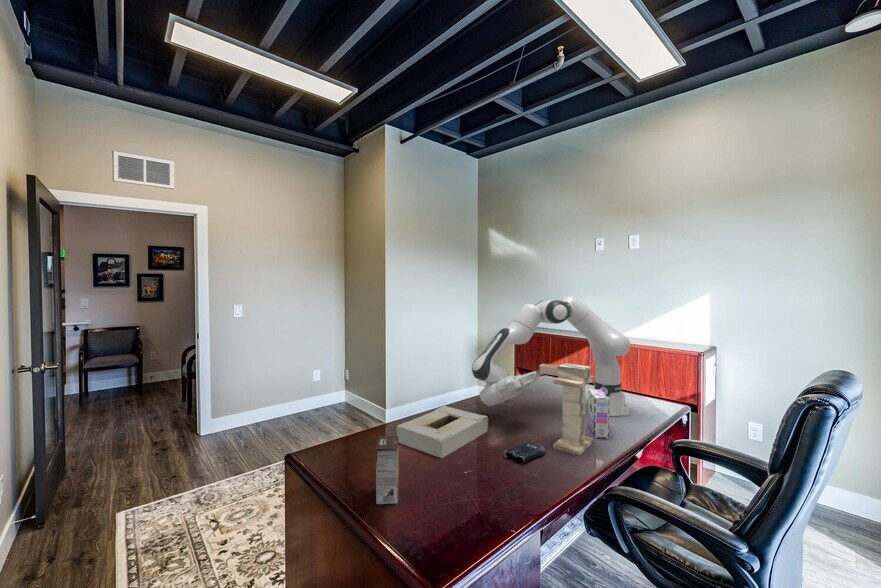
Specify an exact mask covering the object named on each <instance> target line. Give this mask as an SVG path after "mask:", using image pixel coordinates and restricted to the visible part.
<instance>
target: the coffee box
mask: <svg viewBox="0 0 881 588" xmlns="http://www.w3.org/2000/svg"><path fill="white" fill-rule="evenodd" d="M375 445H376V447H375V472H376V473H375V478H376V479H375V482H376V483H375V485H376V487H375V495H376V496H375V497H376V499H375V501H376V503H375V504H376V505H386V504H388V505H390V504H399V491H400V490H399V487H400V484H399V482H400V481H399V480H400V479H399V478H400V477H399V475H400V474H399V472H400V471H399V468H400V466H399V465H400V464H399V463H400V461H399V460H400V459H399V458H400V457H399V454H400V453H399V443H398V436H397V435H379V436H377V439H376V444H375Z"/></svg>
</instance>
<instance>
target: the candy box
mask: <svg viewBox="0 0 881 588" xmlns="http://www.w3.org/2000/svg"><path fill="white" fill-rule="evenodd" d="M587 392H588V393H587V394H588V397H587V398H588V404H587V409H588V417H587V419H588V420H587V421H588V428H589V430H590V432H591V434H592V436H593V438H595V439H605V440H609V439H610V436H609V435H610V432H609V431H610V416H609V398H608V397H607V395H606V394H605V393H604V392H603V391H602V390H600V389H595V388H588V391H587Z"/></svg>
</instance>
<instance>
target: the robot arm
mask: <svg viewBox="0 0 881 588" xmlns="http://www.w3.org/2000/svg"><path fill="white" fill-rule="evenodd" d="M565 321H568V323H570V324H571V326H573V327H574V328H575V329H576V330H577V331H578V332H579V333H581V334H582V335H583V336H584V337H585V338H587V342H588V345H589V347H590V348H591V352H592V356H593V359H594V360H593V361H594V368H595V369H594V371H595V372H594V374H595V375H594V380H593V381H594V384H593V385H594V386H593V389H600V390H602V391H603V392H604V393H605V394H606V395H607V397H608V398H609V417H619V416H624V417H626V416H630V415H629V414H630V410H631V405H630V404H628V403H626V395H625V394H624V392H623V391H622V390H623V389H622V388H623V387H622V385H623V382H622V381H621V366H620V364H619V362H618V360H617V357H624V356H626V355H627V354H628V353H629V352H630V350H631V342H630V339H629V338H628V337H627V336H625V335H624V334H622V333H621V332H619V330H617V329H615V328H614V327H612V326H611V324H609V323H607V322H606V321H605V320H603V319H602V318H600V317H599V316H598V315H597V314H596V313H595V312H593V311H592V310H591V309H590V308H589V307H588V306H587V305H586V304H585V303H583V302H582V301H581V300H579V299H578V298H576V297H575V296H573V295H568V296H565V297H564V298H562V299H561V300H559V299H548V300H541V301H537V303H536V304H532V303H525V304H524V305H522V306H521V308H520V309H519V310H518V311H517V313H516V314H515V316H514V318H513V319H512V321H511V322H510V324H509V325H508V326H507V327H505V328H502V329H500V330H499V331H498V332H497V333H496V335H494V337H493V339H492V340H490V342H489V343H488V345H487V346H486V347H485V349H484V350H483V351H482V353H481V354H480V355H479V356H478V357H476V359H475V360H474V361H473V363H472V365H471V373H472V376H473V377H474V378H475V379H478V380H480V381H481V382H484V383H485V385H484V387H483V388H482V389H481V390H480V391H479V399H480V401H481V402H482V403H483V405H486V406H488V407H492V406H493V407H495V406H497V405H500V404H502V403H503V402H505V401H506V400H507V401H508V400H512V399H513V398H515V397H517V396H520V394H521V393H522V392H523V391H524V390H526V389H527V388H528V387H529V386H530V385H532V384H534V383H535V382H537V381H538V380H539V379H540V377H541V376H543V375H544V374H543V373H539V371H536V370H534V371H531V372H528V373H524V374H522V375H521V374H518V375H509V374H510V373H509V371H508V370H507V369H506V368H504V367H503V366H501V365H499V364H497V363H495V362H494V358H496V356H497V355H498V353H499V352H500V351H501V349H502V348H503V347H504V346H506V345H510V344H511V345H523V344H526V343H528V342H529V341H530V340H531V339H532V337H533V335H534V333H535V332H536V329H537V327H538V325H540V324H541V323H545V324H549V325H550V324H551V325H552V324H554V325H555V324H556V325H557V324H562V323H563V322H565Z"/></svg>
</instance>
